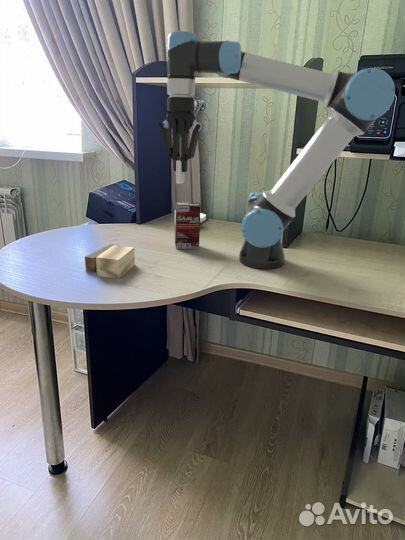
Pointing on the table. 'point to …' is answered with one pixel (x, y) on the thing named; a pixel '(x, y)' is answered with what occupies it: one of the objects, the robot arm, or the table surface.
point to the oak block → (115, 261)
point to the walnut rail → (94, 258)
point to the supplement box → (187, 225)
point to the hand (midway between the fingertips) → (180, 182)
